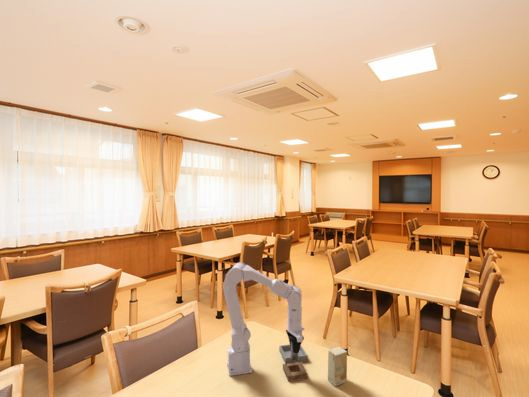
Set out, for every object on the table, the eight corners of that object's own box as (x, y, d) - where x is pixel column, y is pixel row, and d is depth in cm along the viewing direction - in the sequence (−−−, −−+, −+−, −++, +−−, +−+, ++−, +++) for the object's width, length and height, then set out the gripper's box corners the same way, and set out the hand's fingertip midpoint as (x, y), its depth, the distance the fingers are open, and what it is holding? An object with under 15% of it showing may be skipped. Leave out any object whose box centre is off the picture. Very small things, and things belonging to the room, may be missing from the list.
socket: (288, 381, 112) (288, 376, 111) (282, 368, 119) (282, 364, 119) (307, 378, 113) (307, 373, 113) (300, 366, 121) (300, 361, 121)
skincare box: (334, 387, 108) (334, 355, 108) (327, 380, 112) (327, 350, 112) (347, 381, 111) (347, 351, 111) (339, 375, 115) (339, 345, 114)
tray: (285, 363, 123) (285, 358, 123) (279, 350, 132) (279, 345, 132) (307, 360, 125) (307, 355, 125) (299, 348, 135) (299, 343, 134)
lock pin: (292, 361, 114) (292, 341, 114) (290, 356, 117) (290, 337, 117) (299, 360, 115) (299, 340, 115) (297, 355, 118) (296, 337, 118)
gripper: (310, 324, 109) (310, 359, 110) (298, 309, 123) (298, 339, 124) (292, 326, 108) (292, 361, 108) (282, 310, 122) (282, 341, 122)
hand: (294, 350), depth 116 cm, fingers closed on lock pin, 3 cm apart
